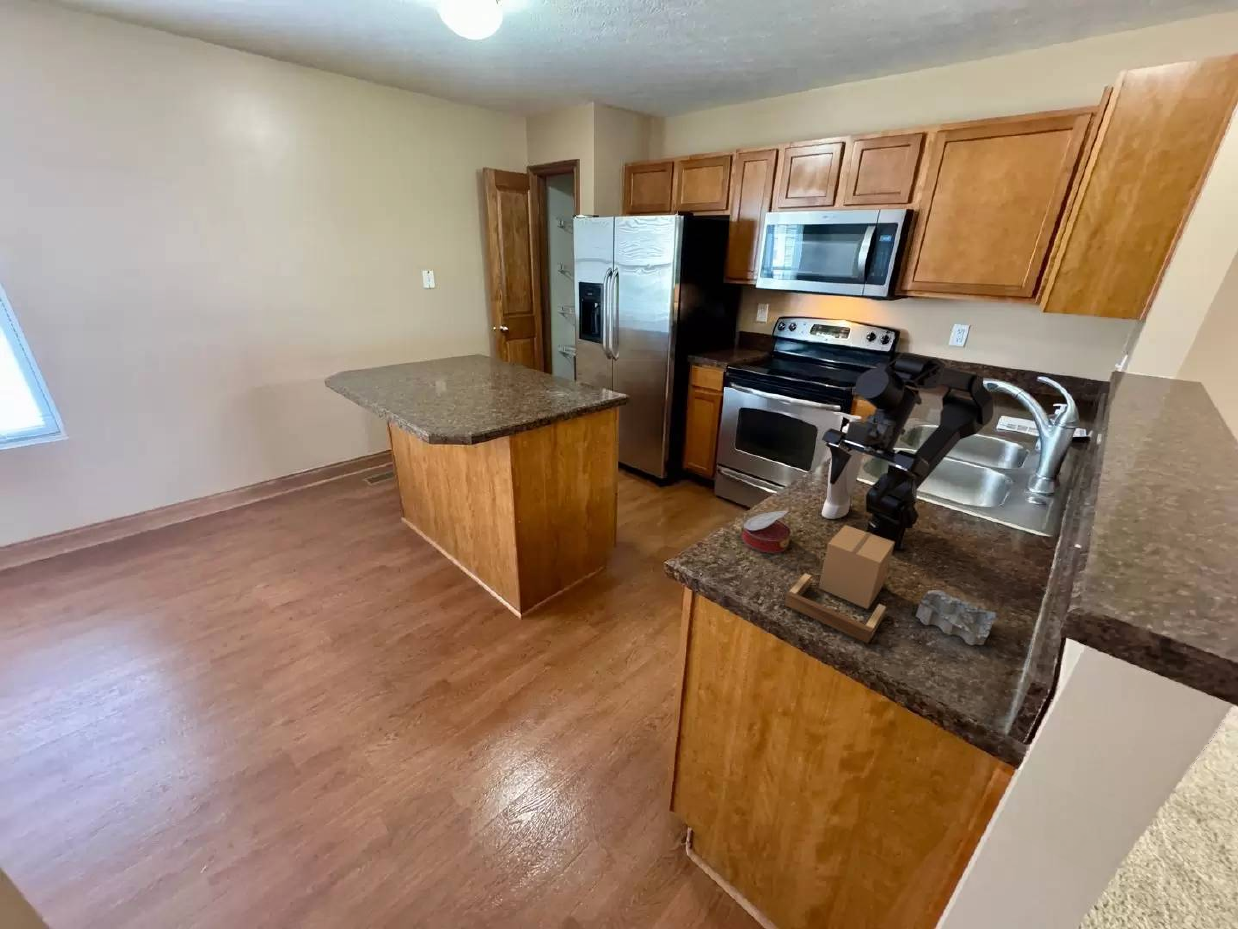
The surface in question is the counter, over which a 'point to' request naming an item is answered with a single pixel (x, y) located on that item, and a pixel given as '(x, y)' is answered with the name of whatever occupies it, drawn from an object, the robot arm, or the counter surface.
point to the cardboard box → (856, 565)
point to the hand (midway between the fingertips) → (852, 492)
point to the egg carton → (955, 616)
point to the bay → (832, 613)
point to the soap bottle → (842, 481)
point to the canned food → (767, 532)
